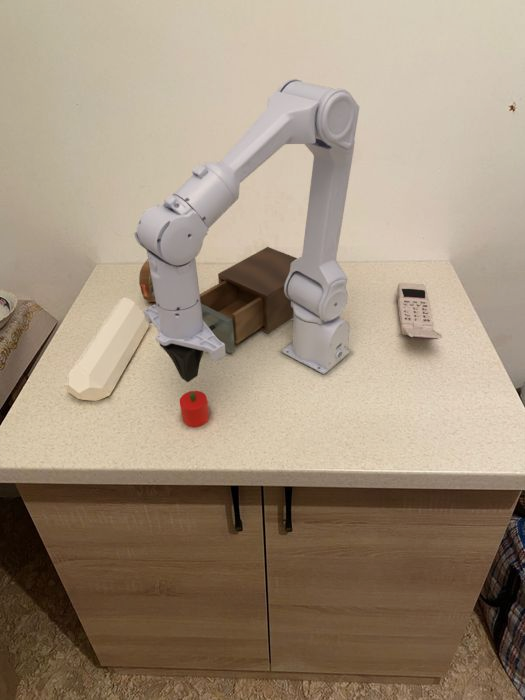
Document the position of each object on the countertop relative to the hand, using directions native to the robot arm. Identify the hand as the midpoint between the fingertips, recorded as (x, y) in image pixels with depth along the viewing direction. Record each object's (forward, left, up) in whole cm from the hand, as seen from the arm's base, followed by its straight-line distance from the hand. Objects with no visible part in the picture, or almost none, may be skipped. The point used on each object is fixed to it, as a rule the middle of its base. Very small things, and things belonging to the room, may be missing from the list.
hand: (189, 377), depth 74 cm
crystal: (+22, 0, -9) cm, 24 cm away
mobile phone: (-14, -45, -9) cm, 48 cm away
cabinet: (+12, -31, -8) cm, 34 cm away
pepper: (0, 0, -8) cm, 8 cm away
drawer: (+12, -19, -7) cm, 23 cm away
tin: (+34, -21, -9) cm, 41 cm away
